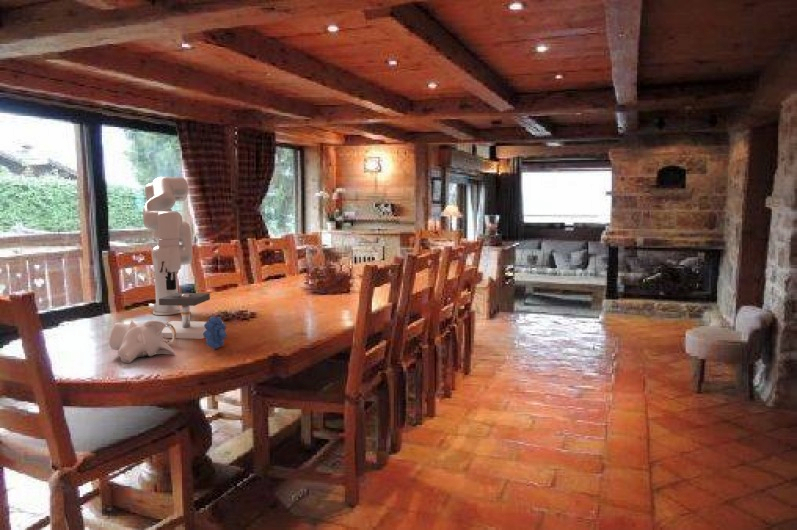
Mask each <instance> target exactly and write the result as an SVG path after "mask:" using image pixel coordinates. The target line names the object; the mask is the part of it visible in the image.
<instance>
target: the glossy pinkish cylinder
mask: <svg viewBox="0 0 797 530" xmlns="http://www.w3.org/2000/svg"><path fill="white" fill-rule="evenodd" d="M181 297H189V294H182V295H181ZM180 307H181V308H180V309H182V312H181V313H180V315H181V321H182V327H183V328H188V327H190V321H191V310H190V309H191V308H190V306H180Z"/></svg>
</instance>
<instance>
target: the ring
mask: <svg viewBox="0 0 797 530" xmlns="http://www.w3.org/2000/svg"><path fill="white" fill-rule="evenodd" d="M164 323H165V324H166V325H165V327H168V328H170V329H171V331H172V334H173V338H171V340H170V341H169V340H165V338H163V341H164V342H165V343H166V344H168V345H170V344H173V343H174V341H175V340H176V339H177V338H176V330H175V328H174V327H173V326H172V325H171V324H170V323H169V321H168V322H164ZM168 323H169V324H168Z"/></svg>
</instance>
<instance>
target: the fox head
mask: <svg viewBox="0 0 797 530" xmlns="http://www.w3.org/2000/svg"><path fill="white" fill-rule="evenodd" d="M165 323H166V322H164V321H161V320H158V319H149V320H146V321H140V322H134V321H133V319H131V320H130V322H129V323H124V322H115V324H114V325H113V327H112V329H111V332H110V337H109V342H108V344H109V347H110V349H112V350H115V351H117V355H118V356H119V358H120V360H121V361H122V362H123V363H128V364H131V362H132V361H134V360H135V359H136V358H141V357H147V356H149V357H153V356H154V355H156V354H158V355H176V353H175V351H174V350H173V349H172V347H171V346H170V344H166V343H165V342H164V341H163V339H164V338H163V334H162V331H163V329H164V327H165V325H166V324H165Z"/></svg>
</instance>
